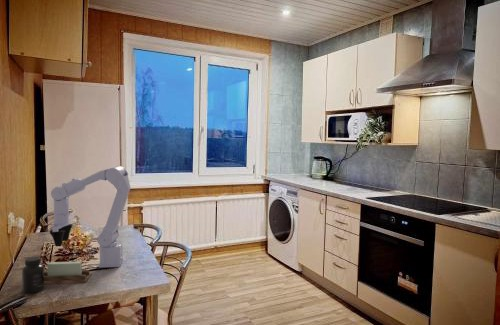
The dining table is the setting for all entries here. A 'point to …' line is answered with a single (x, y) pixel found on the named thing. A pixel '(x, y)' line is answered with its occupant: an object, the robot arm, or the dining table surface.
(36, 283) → the supplement bottle
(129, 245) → the dining table surface
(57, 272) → the door panel
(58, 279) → the brown flat wooden board
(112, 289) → the dining table surface
